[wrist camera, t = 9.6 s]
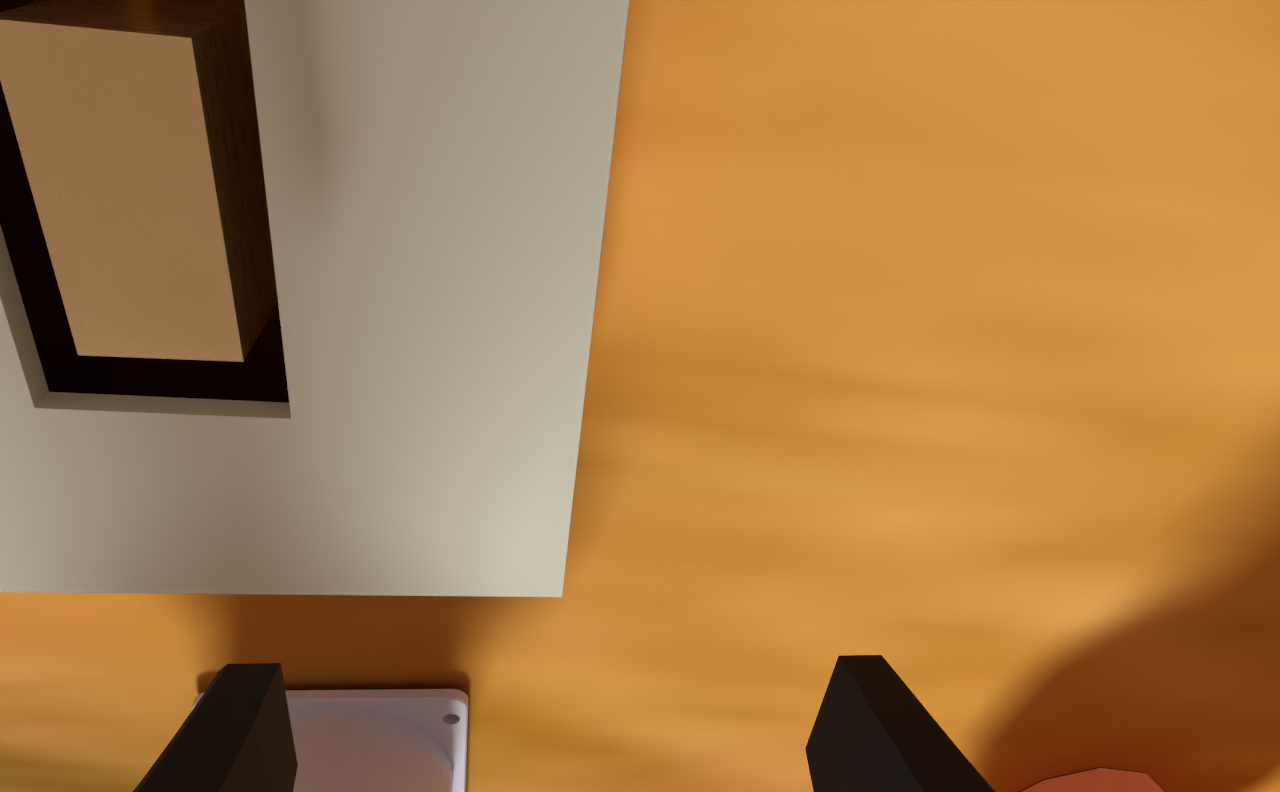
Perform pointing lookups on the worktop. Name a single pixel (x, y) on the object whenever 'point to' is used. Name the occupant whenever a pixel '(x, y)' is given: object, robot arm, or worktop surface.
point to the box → (362, 329)
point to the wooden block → (145, 171)
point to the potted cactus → (1098, 782)
